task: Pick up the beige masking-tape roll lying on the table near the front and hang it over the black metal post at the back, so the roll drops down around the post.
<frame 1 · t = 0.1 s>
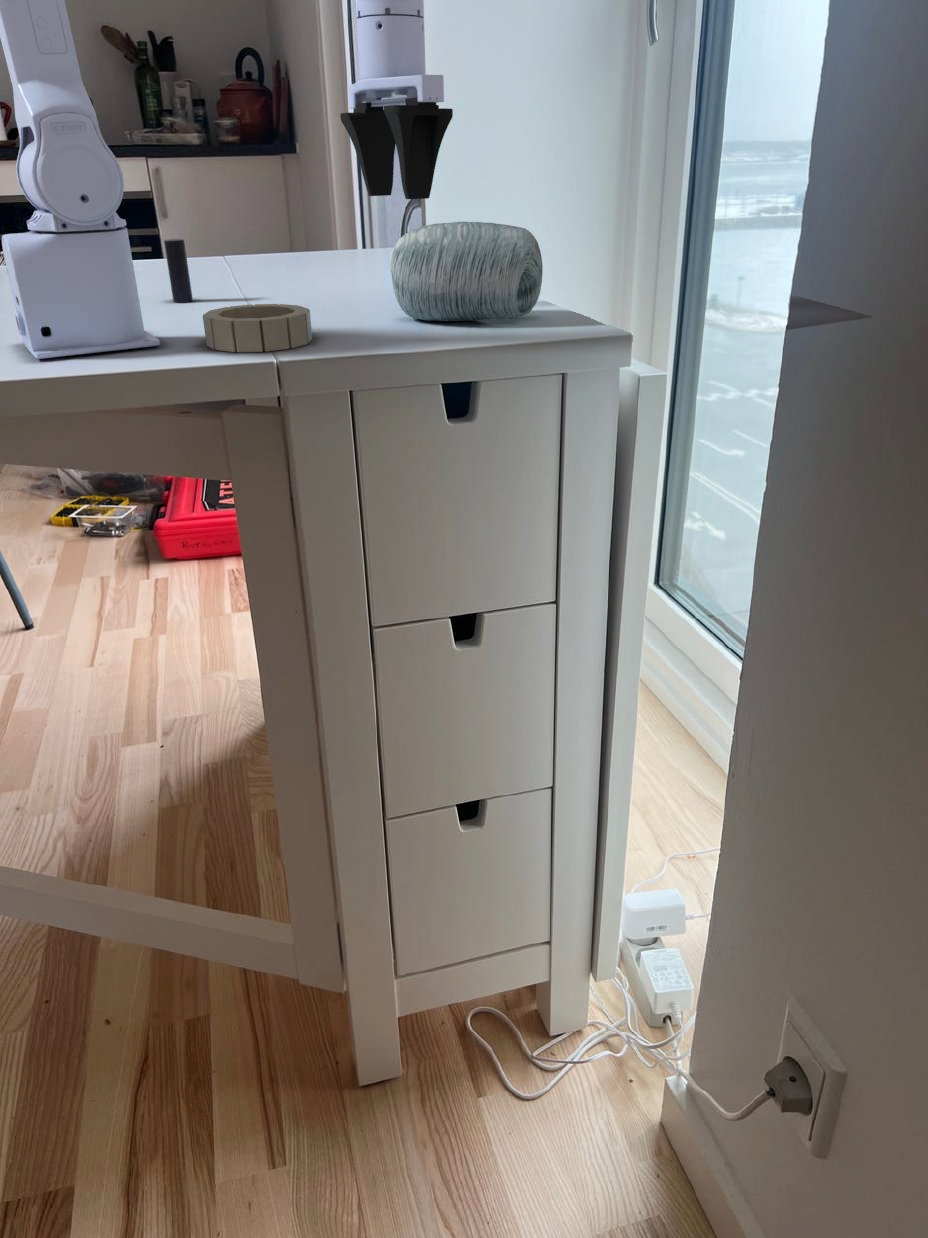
hand: (398, 197, 83), 10 cm above the table, tool pointing down, fingers open, 7 cm apart
tape roll: (260, 341, 76), on the table
spool: (467, 321, 84), on the table
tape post: (183, 300, 97), on the table
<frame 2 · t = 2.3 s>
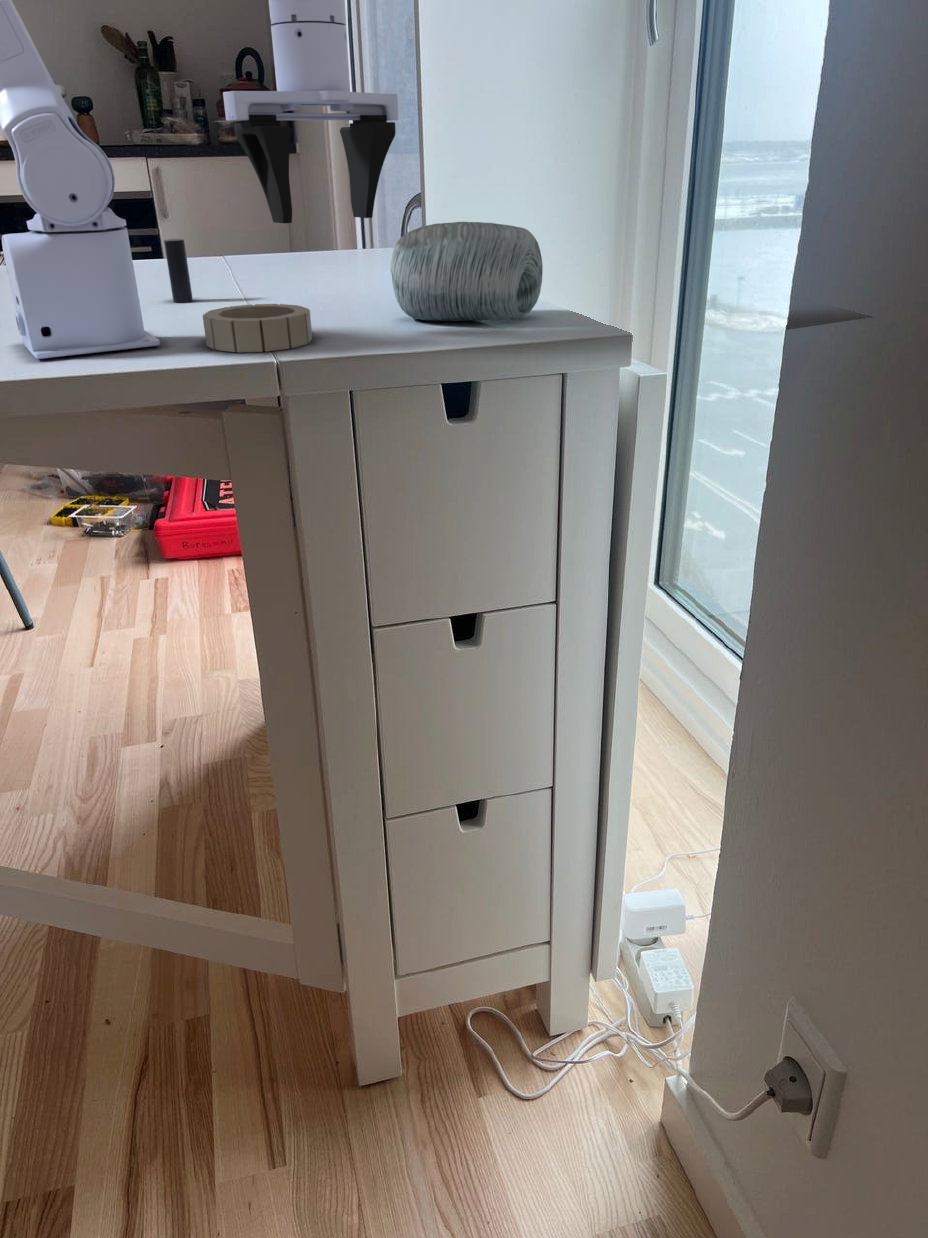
hand: (323, 219, 76), 9 cm above the table, tool pointing down, fingers open, 7 cm apart
nothing on the table moved.
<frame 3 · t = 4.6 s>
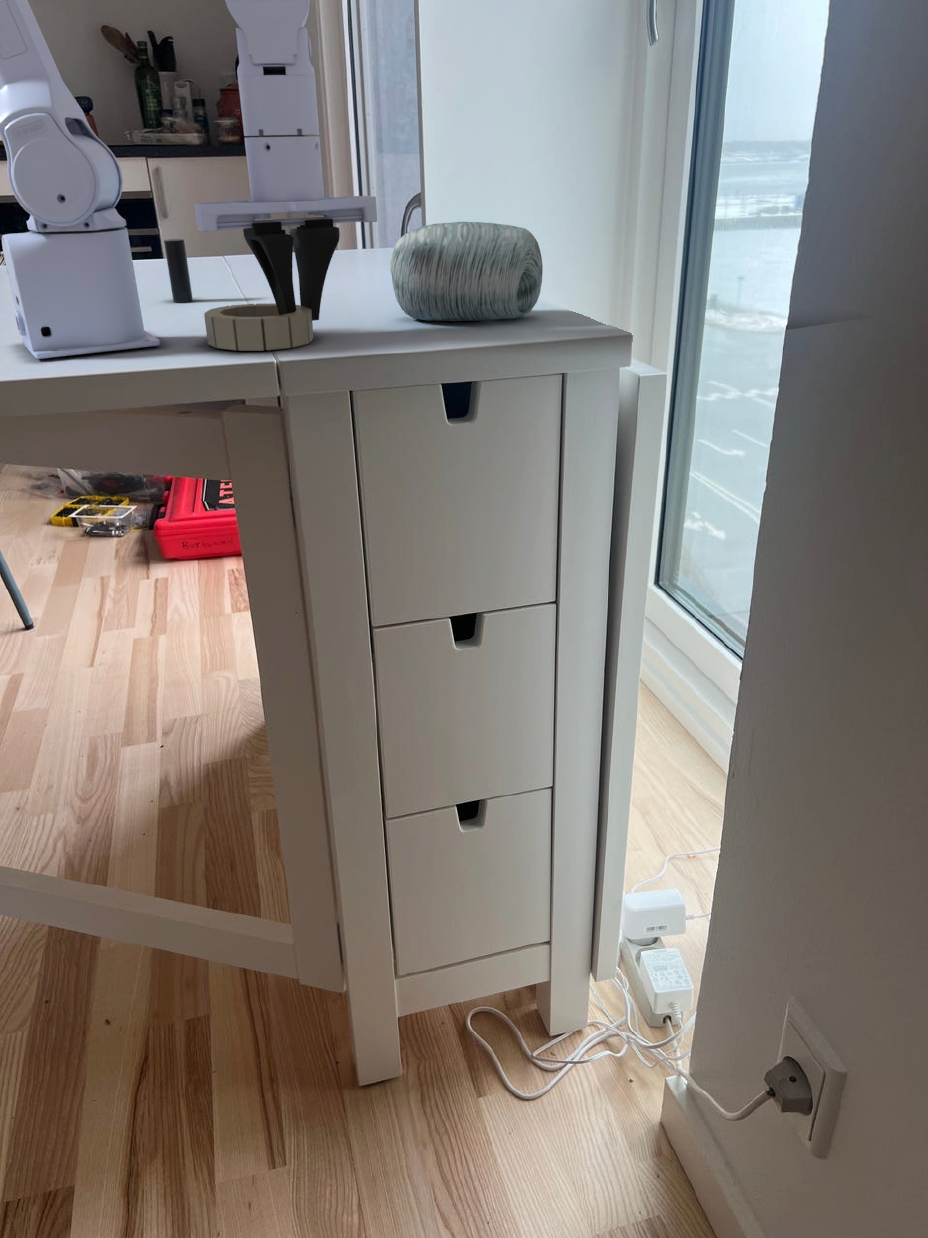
hand: (299, 320, 77), 1 cm above the table, tool pointing down, fingers closed on tape roll, 1 cm apart
tape roll: (261, 340, 76), on the table, touching gripper
everything else where it was.
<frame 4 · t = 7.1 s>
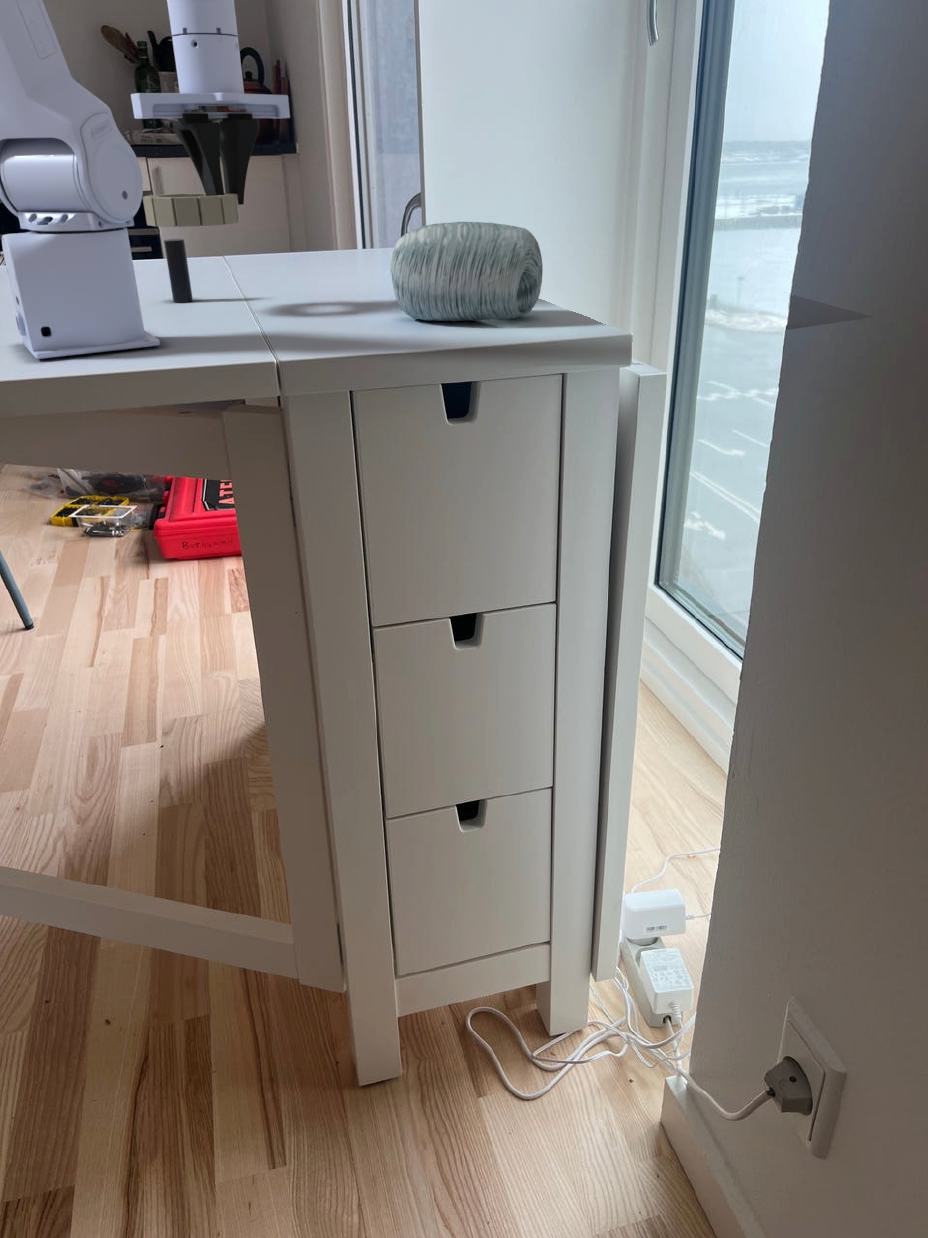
hand: (226, 204, 88), 9 cm above the table, tool pointing down, fingers closed on tape roll
tape roll: (194, 222, 87), point 8 cm above the table, touching gripper
everything else where it was.
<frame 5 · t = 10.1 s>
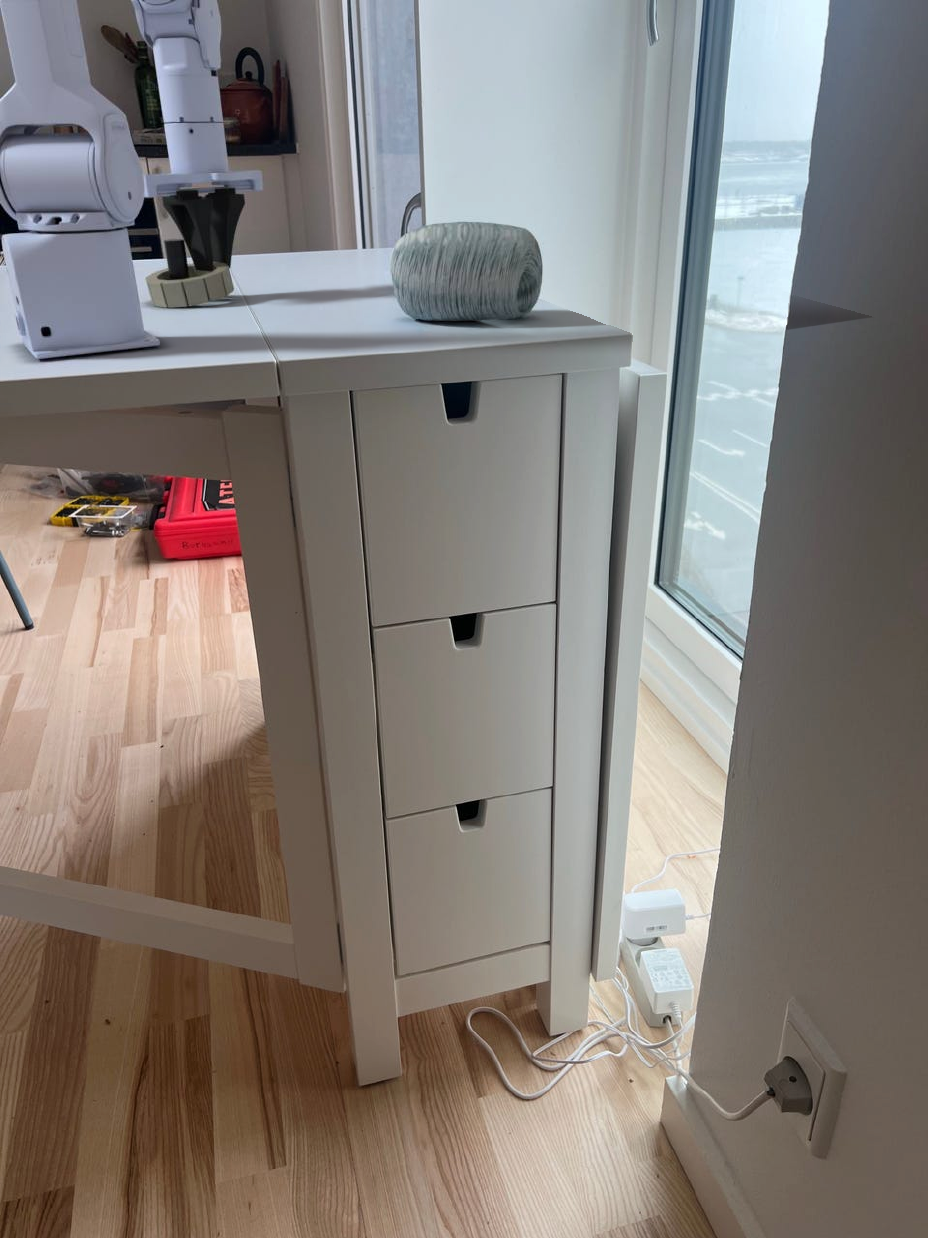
hand: (213, 269, 97), 3 cm above the table, tool pointing down, fingers closed
tape roll: (193, 295, 96), point 1 cm above the table, tilted 8°, touching gripper
everything else where it was.
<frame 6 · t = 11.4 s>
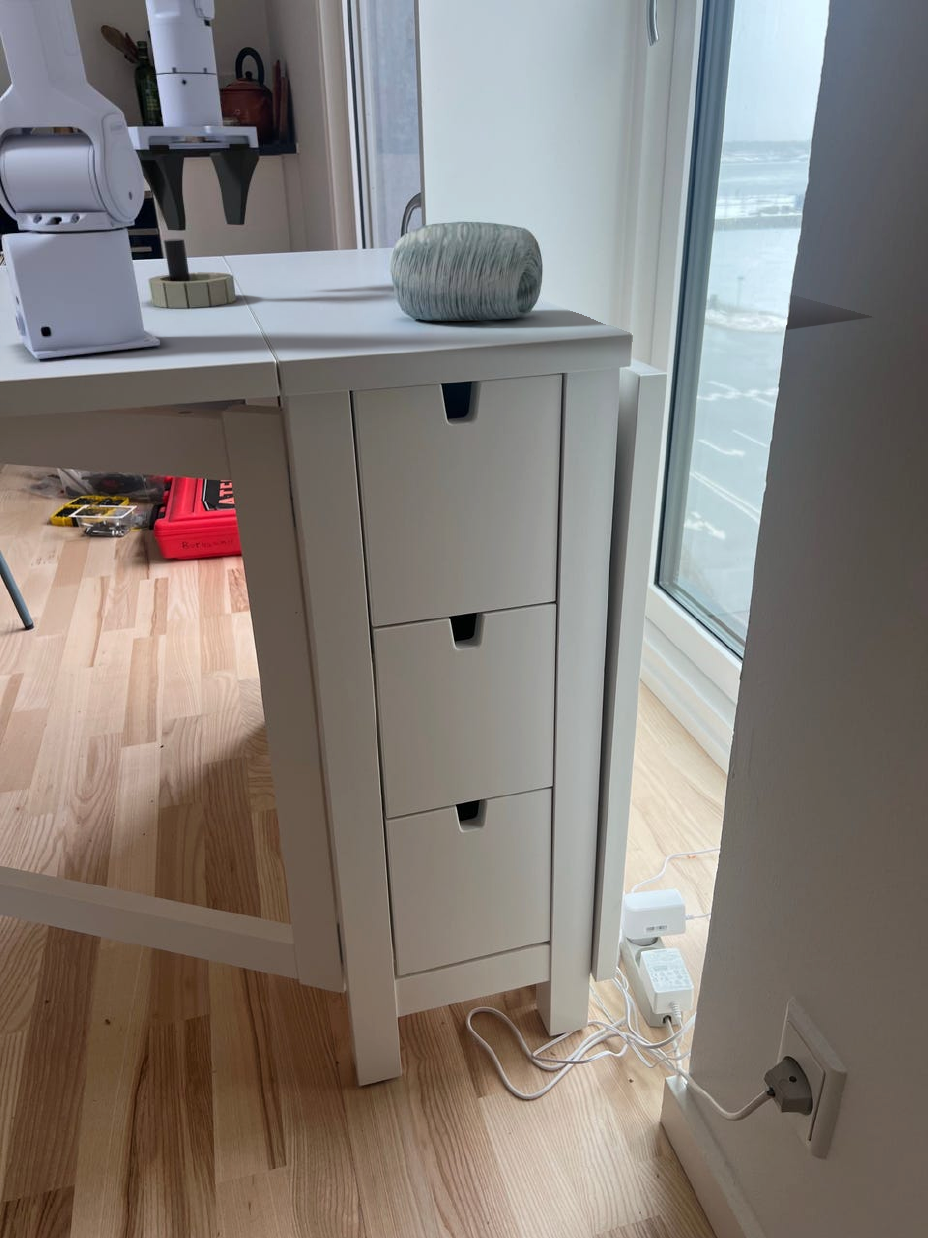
hand: (207, 227, 95), 7 cm above the table, tool pointing down, fingers open, 7 cm apart
tape roll: (194, 301, 97), on the table
everything else where it was.
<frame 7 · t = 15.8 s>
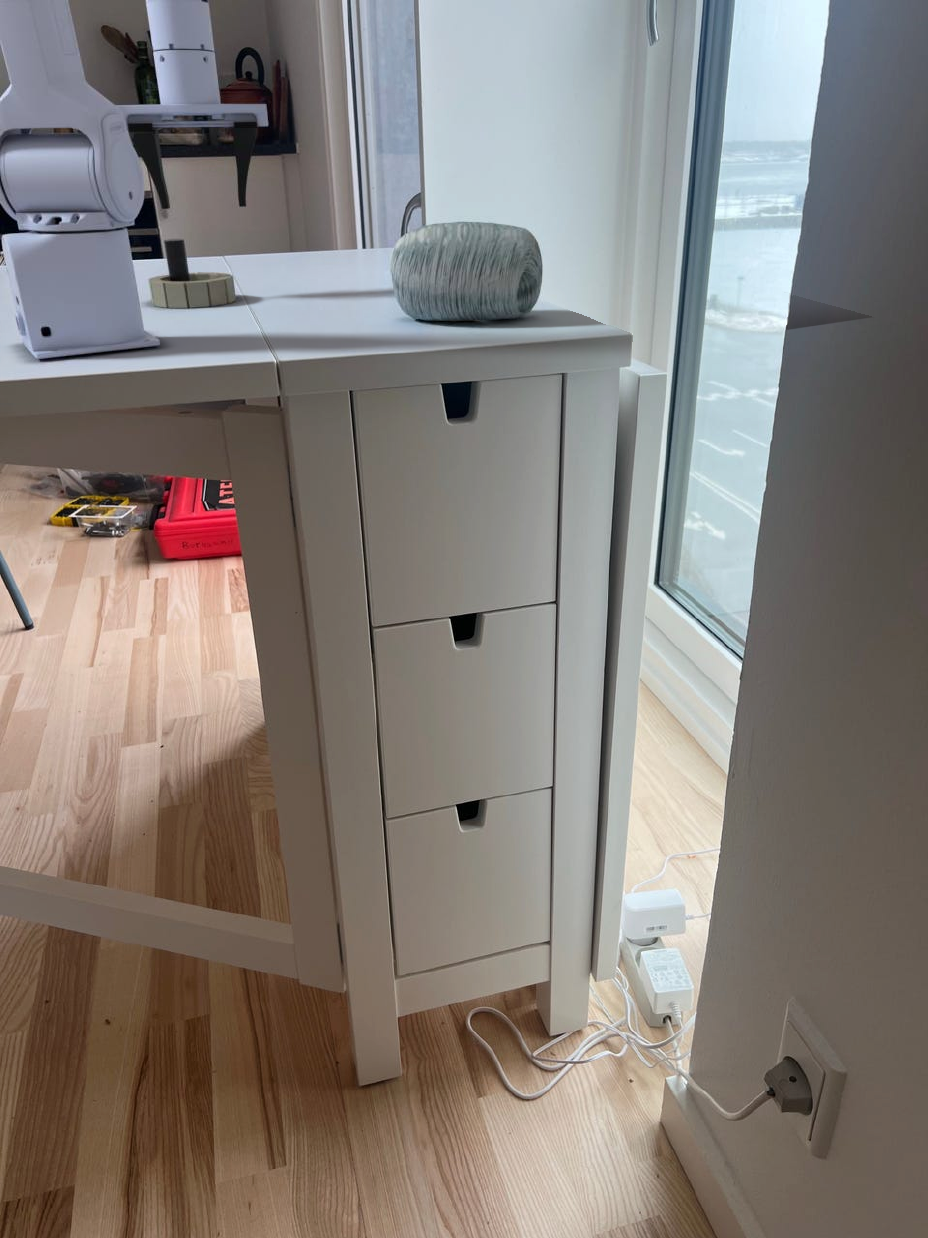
hand: (204, 207, 94), 9 cm above the table, tool pointing down, fingers open, 7 cm apart
nothing on the table moved.
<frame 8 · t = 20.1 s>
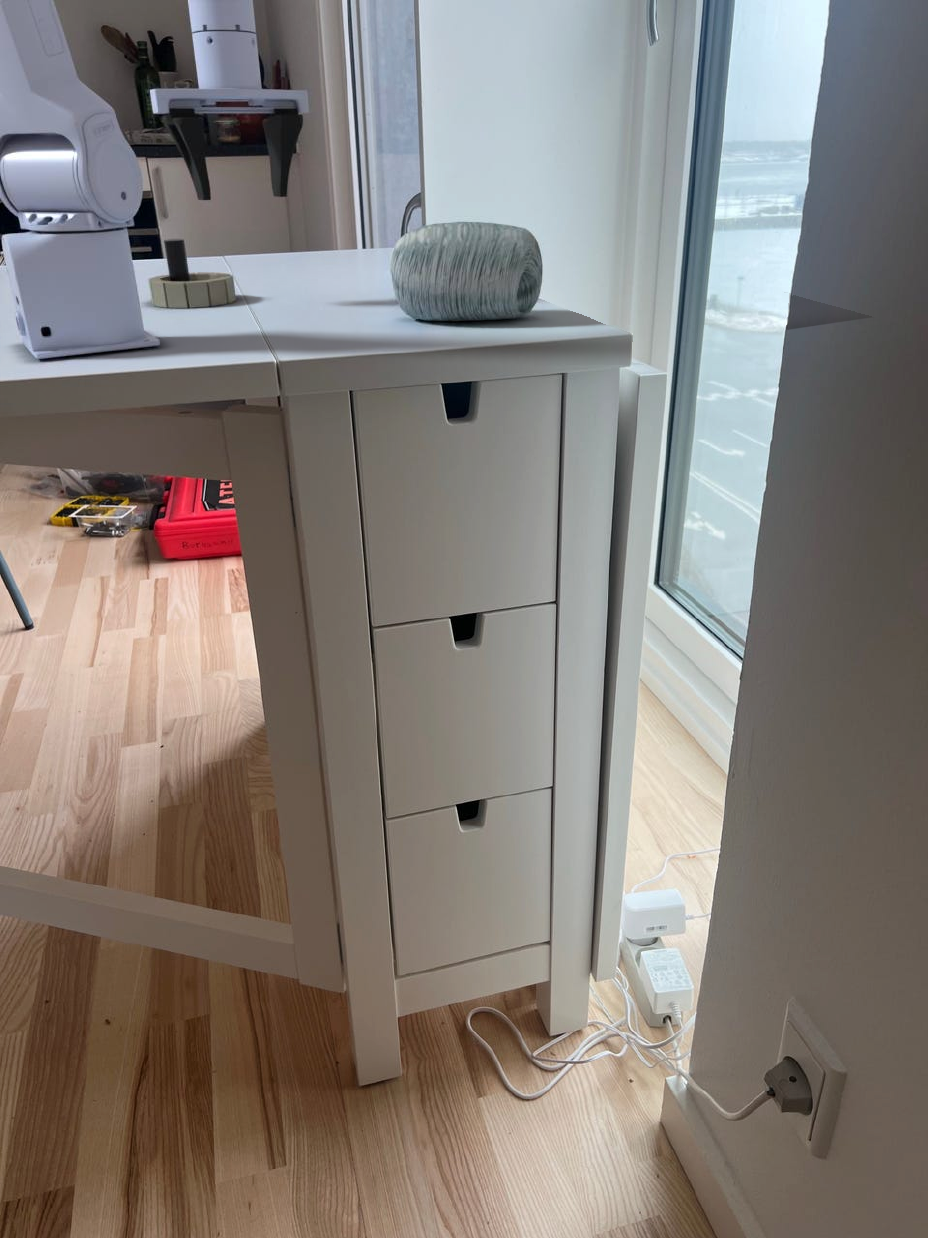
hand: (243, 198, 90), 10 cm above the table, tool pointing down, fingers open, 7 cm apart
nothing on the table moved.
at the end: tape roll 1.4 cm off-centre on the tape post, point 0.0 cm above the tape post's base; the gripper is holding nothing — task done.
